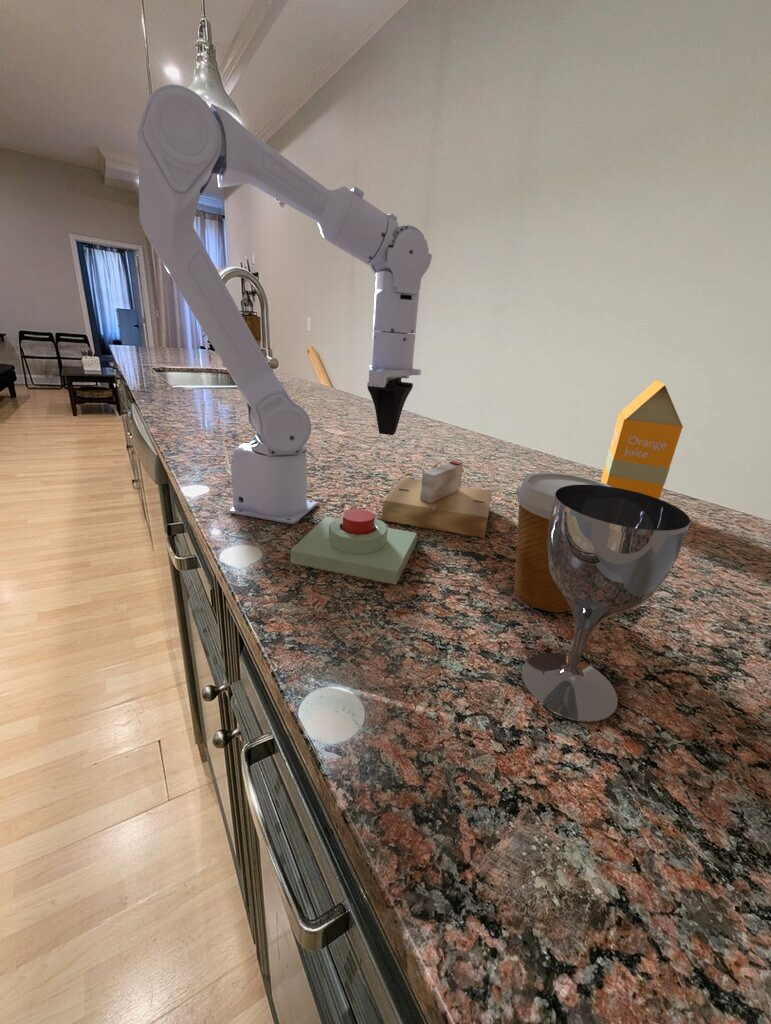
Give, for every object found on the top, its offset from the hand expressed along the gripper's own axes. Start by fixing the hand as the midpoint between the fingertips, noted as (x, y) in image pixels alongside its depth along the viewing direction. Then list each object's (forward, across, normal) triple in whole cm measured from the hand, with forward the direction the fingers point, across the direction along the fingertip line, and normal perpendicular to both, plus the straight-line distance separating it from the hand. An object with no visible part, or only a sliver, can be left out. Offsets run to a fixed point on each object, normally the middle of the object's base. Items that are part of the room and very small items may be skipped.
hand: (387, 433), depth 65 cm
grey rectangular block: (+7, -2, -9) cm, 12 cm away
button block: (+10, -18, -2) cm, 21 cm away
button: (+7, -18, -2) cm, 19 cm away
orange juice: (+11, +14, -37) cm, 41 cm away
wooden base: (+10, -2, -9) cm, 14 cm away
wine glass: (+11, -32, -24) cm, 41 cm away
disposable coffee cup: (+11, -19, -23) cm, 32 cm away
